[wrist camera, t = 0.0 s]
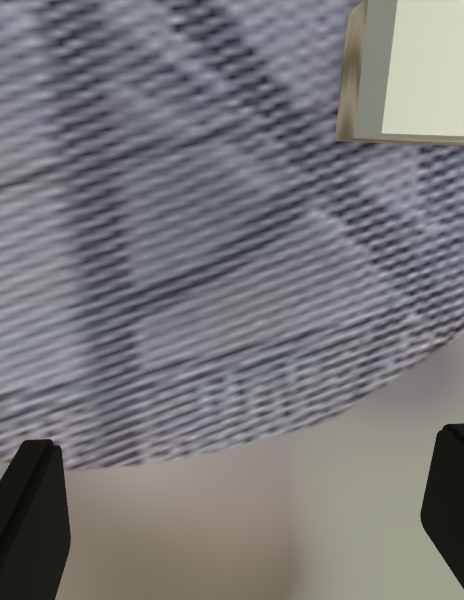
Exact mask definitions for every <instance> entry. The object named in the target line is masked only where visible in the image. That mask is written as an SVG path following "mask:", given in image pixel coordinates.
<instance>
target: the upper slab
mask: <svg viewBox="0 0 464 600" xmlns="http://www.w3.org/2000/svg"><path fill="white" fill-rule="evenodd" d="M354 138H372V139H402V140H433V141H463V142H464V0H368V7H367V17H366V27H365V36H364V46H363V56H362V65H361V75H360V84H359V94H358V104H357V113H356V123H355V133H354Z"/></svg>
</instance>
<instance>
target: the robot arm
mask: <svg viewBox="0 0 464 600" xmlns="http://www.w3.org/2000/svg"><path fill="white" fill-rule="evenodd" d="M421 522H422V525H423V528H424V529H425V531H426V533H427V534H428V536H429V537H430V539H431V540H432V542H433V543H434V545H435V546H436V548H437V549H438V551H439V552H440V554H441V555H442V557H443V558H444V560H445V561H446V563H447V564H448V566H449V567H450V569H451V570H452V572H453V573H454V575H455V577H456V578H457V580H458V581H459V582H460V584H461V586H462V587H463V589H464V424H447V425H445V426H444V427H443V429H442V430H441V431H439V432H438V433H437V437H436V442H435V446H434V452H433V456H432V461H431V465H430V471H429V475H428V480H427V485H426V490H425V494H424V500H423V504H422V509H421ZM70 541H71V535H70V525H69V516H68V506H67V497H66V488H65V479H64V469H63V460H62V451H61V447H60V446H59V445H56V446H54V445H53V442H52V440H51V439H43V440H25V441H24V442H23V443H22V444H21V446H20V448H19V449H18V451H17V453H16V455H15V456H14V458H13V460H12V461H11V463H10V465H9V467H8V468H7V470H6V472H5V473H4V475H3V477H2V478H1V480H0V600H55V597H56V594H57V591H58V587H59V584H60V580H61V577H62V574H63V571H64V567H65V564H66V561H67V557H68V554H69V549H70Z"/></svg>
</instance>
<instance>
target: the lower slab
mask: <svg viewBox="0 0 464 600" xmlns="http://www.w3.org/2000/svg"><path fill="white" fill-rule="evenodd" d="M367 7H368V0H362V1H361V2H360V3H359V4H358V5H357V6H356V7H355V8H354V9H353V10H352V11H350V12H349V13H348V16H347V26H346V36H345V46H344V56H343V66H342V76H341V86H340V96H339V107H338V117H337V127H336V137H335V141H351V142H375V143H399V144H422V145H446V146H464V142H463V141H433V140H402V139H372V138H354V133H355V123H356V113H357V104H358V94H359V84H360V75H361V65H362V56H363V46H364V36H365V27H366V17H367Z"/></svg>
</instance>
